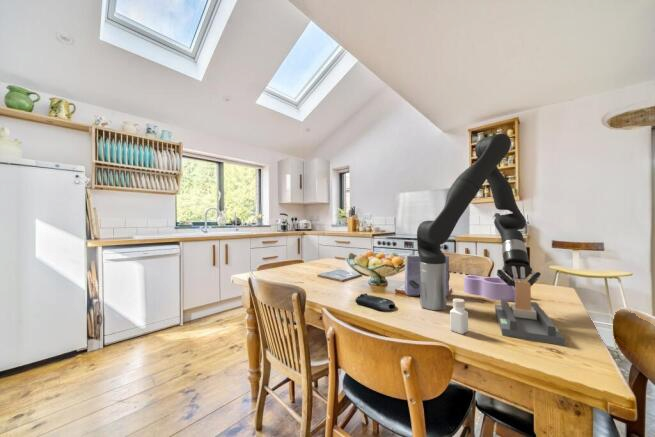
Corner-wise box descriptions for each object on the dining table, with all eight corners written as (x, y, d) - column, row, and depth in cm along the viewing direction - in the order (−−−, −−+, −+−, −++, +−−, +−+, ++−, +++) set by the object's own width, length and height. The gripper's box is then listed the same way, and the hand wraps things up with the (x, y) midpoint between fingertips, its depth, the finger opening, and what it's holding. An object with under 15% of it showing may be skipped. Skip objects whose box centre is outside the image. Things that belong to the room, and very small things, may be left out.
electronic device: (354, 309, 104) (387, 312, 94) (353, 295, 105) (386, 296, 95) (367, 306, 111) (399, 309, 101) (366, 292, 112) (398, 294, 102)
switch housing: (494, 310, 95) (494, 297, 95) (543, 316, 89) (543, 303, 89) (502, 335, 76) (502, 319, 76) (565, 345, 69) (564, 328, 69)
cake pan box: (448, 293, 117) (447, 254, 117) (452, 296, 112) (451, 255, 112) (404, 292, 119) (403, 254, 118) (406, 296, 114) (406, 256, 113)
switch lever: (510, 311, 88) (510, 279, 88) (532, 314, 85) (532, 281, 85) (513, 316, 83) (512, 283, 83) (536, 319, 81) (536, 285, 80)
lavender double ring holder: (461, 294, 116) (460, 278, 115) (469, 288, 125) (469, 273, 124) (516, 304, 102) (515, 286, 102) (521, 296, 111) (520, 280, 111)
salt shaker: (462, 335, 77) (462, 303, 76) (449, 330, 80) (448, 299, 80) (469, 331, 79) (468, 300, 79) (456, 327, 82) (455, 297, 82)
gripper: (494, 247, 97) (498, 288, 87) (538, 249, 91) (549, 293, 80) (493, 259, 102) (496, 299, 91) (535, 261, 96) (544, 305, 85)
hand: (521, 296), depth 86 cm, fingers closed
